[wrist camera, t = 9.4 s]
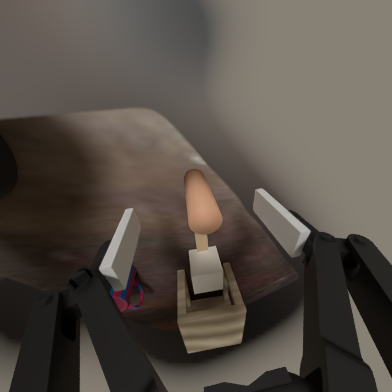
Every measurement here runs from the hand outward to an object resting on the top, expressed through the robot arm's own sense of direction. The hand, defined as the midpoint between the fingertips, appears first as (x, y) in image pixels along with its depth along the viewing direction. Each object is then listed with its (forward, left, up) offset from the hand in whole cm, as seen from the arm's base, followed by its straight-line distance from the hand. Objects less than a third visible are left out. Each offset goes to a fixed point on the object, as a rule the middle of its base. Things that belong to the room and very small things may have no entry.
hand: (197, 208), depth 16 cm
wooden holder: (+31, +1, -9) cm, 32 cm away
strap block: (+11, +1, -9) cm, 14 cm away
